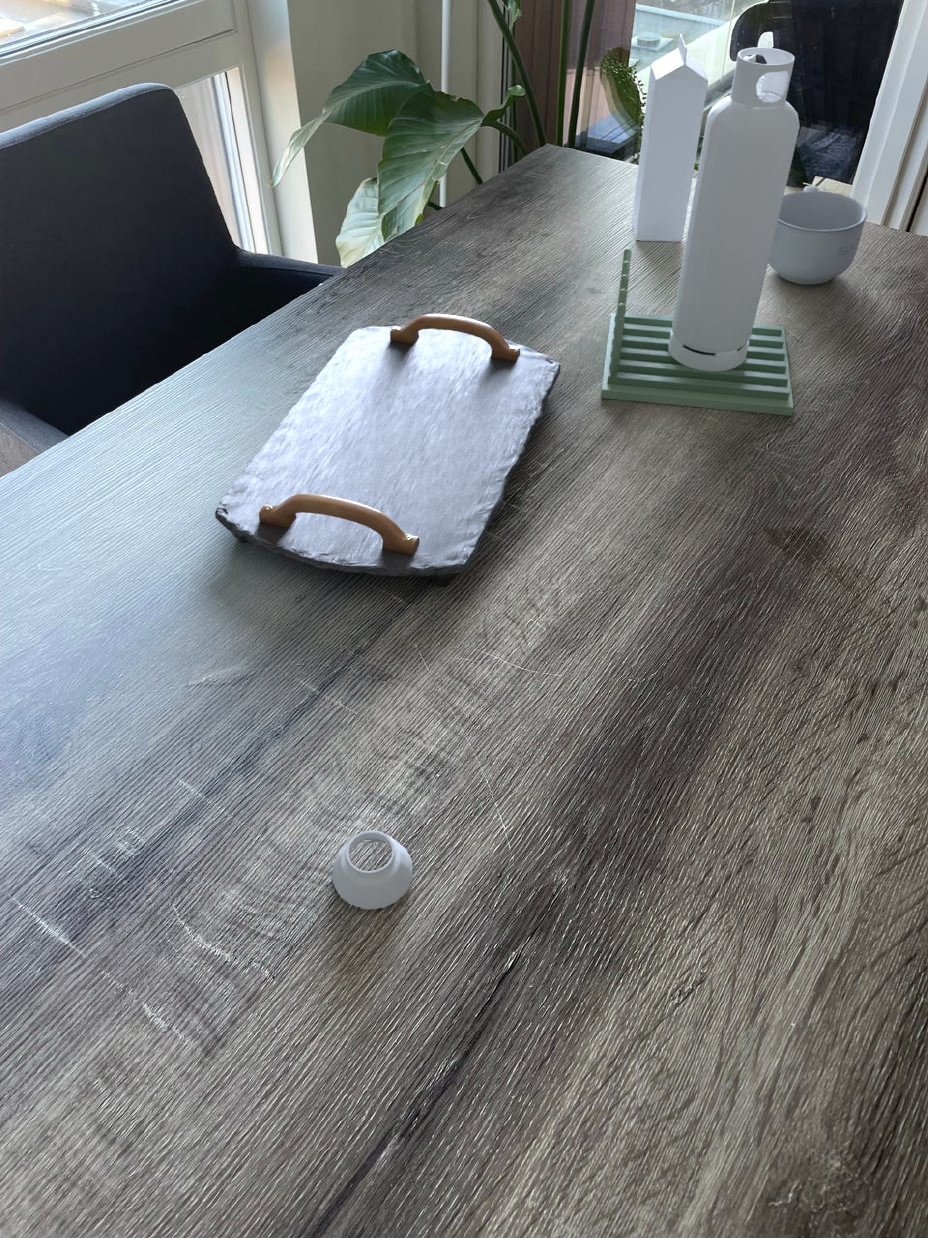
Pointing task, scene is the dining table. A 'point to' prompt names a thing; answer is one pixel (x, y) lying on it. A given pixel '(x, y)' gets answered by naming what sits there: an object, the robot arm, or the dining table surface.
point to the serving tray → (395, 451)
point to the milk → (669, 146)
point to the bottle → (735, 213)
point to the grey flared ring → (372, 874)
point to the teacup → (816, 235)
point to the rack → (656, 377)
